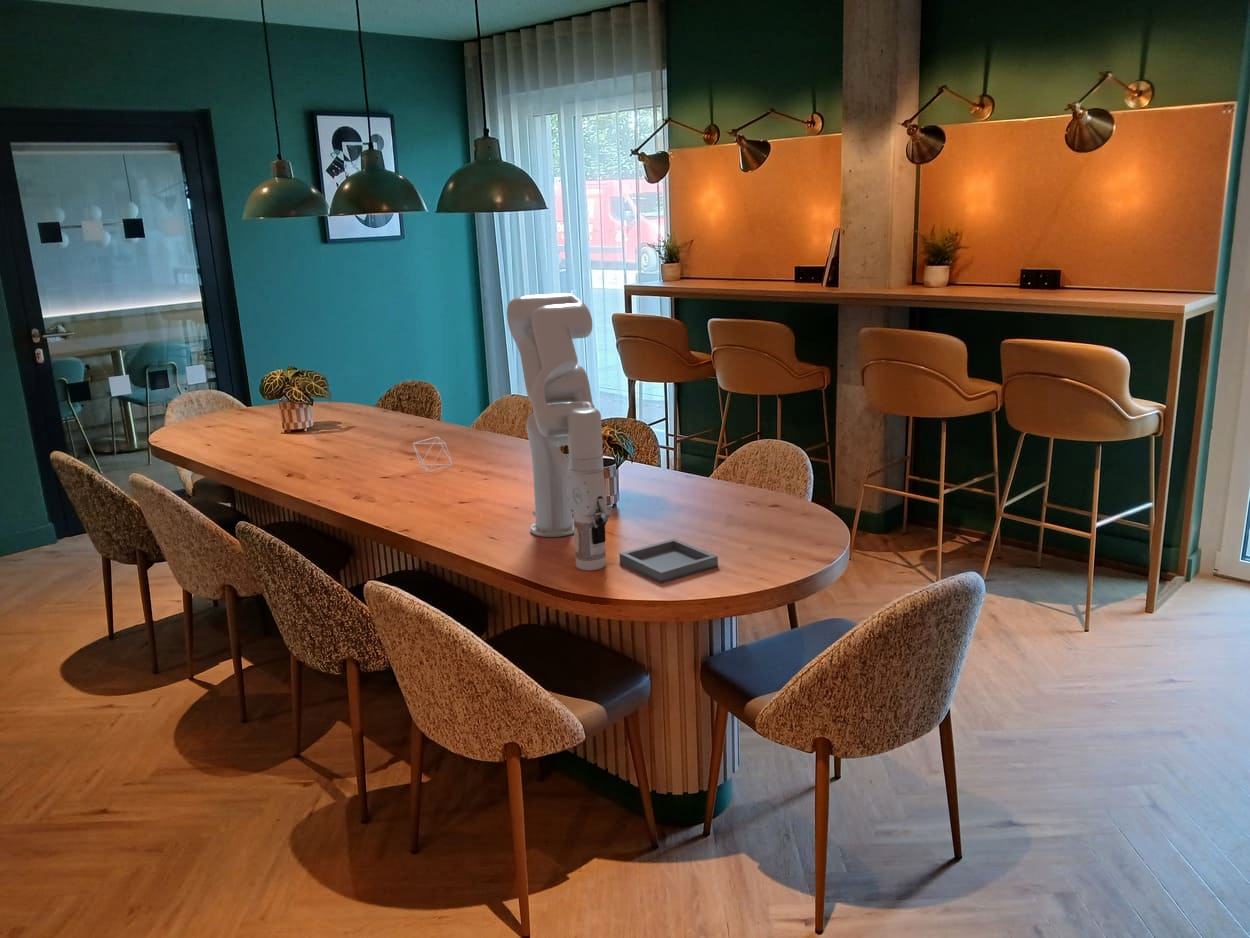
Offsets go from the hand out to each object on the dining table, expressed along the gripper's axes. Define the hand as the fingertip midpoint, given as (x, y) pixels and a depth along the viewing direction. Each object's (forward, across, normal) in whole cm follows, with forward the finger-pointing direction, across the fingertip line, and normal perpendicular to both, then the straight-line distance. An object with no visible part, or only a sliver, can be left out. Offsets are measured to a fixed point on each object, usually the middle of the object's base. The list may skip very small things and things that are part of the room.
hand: (589, 538), depth 218 cm
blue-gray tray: (+7, +11, +14) cm, 19 cm away
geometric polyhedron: (+7, -110, +10) cm, 111 cm away
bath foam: (+7, 0, 0) cm, 7 cm away
